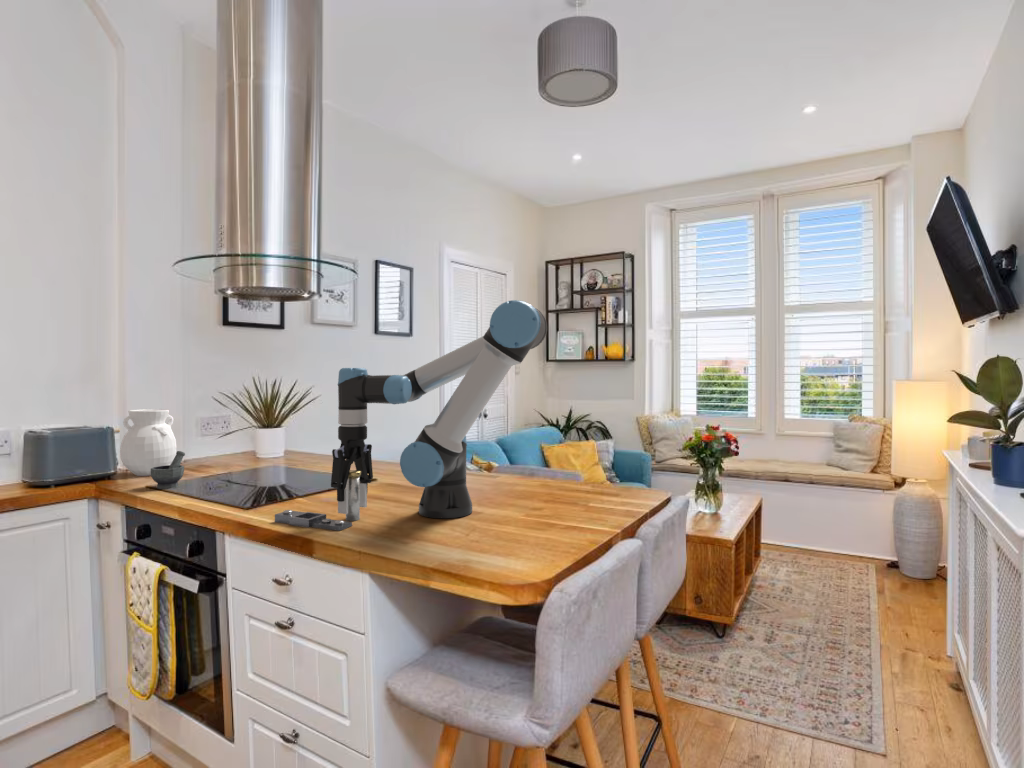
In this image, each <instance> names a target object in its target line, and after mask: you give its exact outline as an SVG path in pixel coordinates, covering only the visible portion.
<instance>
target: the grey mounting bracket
mask: <svg viewBox="0 0 1024 768" xmlns="http://www.w3.org/2000/svg"><path fill="white" fill-rule="evenodd" d="M274 523H281V524H286V525H289V526H295V527H300V528H315V529H322V530H329V531H330V530H331V531H337V532H340V531H342V530H343V531H344V530H346V529H348V528H350V527H352V526H353V521H346V520H343V519H341V520H340V519H331V518H327V514H326V513H319V512H311V511H299V510H298V511H297V510H292V509H287V510H286V509H285V510H283V511H281V512H279V513H275V514H274Z"/></svg>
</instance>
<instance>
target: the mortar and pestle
mask: <svg viewBox="0 0 1024 768" xmlns="http://www.w3.org/2000/svg"><path fill="white" fill-rule="evenodd" d="M184 456H186V453H185V452H184V451H181V450H176V455H175V458H174V459H173V461H172V463H171V465H167V466H158V467H153V468H151V476H150V477H151V478H152V479H153V481H154V482H155V483H156V484H157V485H156V489H158V490H167V489H168V490H169V489H170V490H171V489H175V488H178V487H179V483H178V482H179V481H180V480H181V479H182V478H183V475H184V473H185V466H184V465H181V463H182V461H183V458H184Z"/></svg>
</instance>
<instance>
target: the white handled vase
mask: <svg viewBox="0 0 1024 768" xmlns="http://www.w3.org/2000/svg"><path fill="white" fill-rule="evenodd" d="M169 413H170V409H167V408H145V409H143V408H141V409H130V410H128V416H126V417H125V418H124V419H123V421H122V423H123V426H124V427H125V429H126V430H127V431H126V433H125V435H124V436H123V438H122V441H121V442H120V443H121V444H120V449H119V453H120V460H121V462H122V465H123V466H125V468H126V469H127V470H128V471H130V472H131V473H132V474H134V475H135V476H136V477H151V468H153V467H158V466H167V465H171V463H172V461H173V459H174V458H175V456H176V452H177V439H176V437H175V433H174V432H173V429H172V426H173V424H174V420H175V419H174V416H172V415H171V414H169ZM167 419H168V422H167V423H166V420H167ZM129 420H130V421H132V423H133V425H132V426H131V425H130V424H129Z"/></svg>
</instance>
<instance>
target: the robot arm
mask: <svg viewBox="0 0 1024 768" xmlns="http://www.w3.org/2000/svg"><path fill="white" fill-rule="evenodd" d="M547 332H548V322H547V320H546V317H545V315H544V314H543V312H541V310H539V309H537V308H536V307H534V306H533V305H532V304H530V303H529V302H527V301H524V300H517V299H516V300H515V299H513V300H508V301H505V302H503V303H501V304H499V305H498V306H497V307H496V308H495V309H494V311H493V312H492V314H491V316H490V320H489V327H488V328H487V330H486V332H485V333H484V335H483V336H481V337H478V338H476V339H474V340H472V341H470V342H468V343H466V344H464V345H462V346H459V347H458V348H456V349H454V350H452V351H450V352H448V353H446V354H444V355H442V356H440V357H438V358H435V359H434V360H432V361H429V362H427V363H425V364H423V365H422V366H420V367H417V368H415V369H413V370H412V371H409V372H408V373H405V374H403V375H401V374H400V375H399V374H390V375H389V374H387V375H385V374H384V375H383V374H381V375H380V374H379V375H372V374H369V373H368V369H366V368H365V367H342V368H340V369H339V371H338V379H337V380H338V381H337V386H338V387H337V388H338V389H337V393H338V395H337V397H338V400H337V401H338V406H337V407H338V415H337V416H338V424H339V426H338V427H337V438H338V440H339V441H340V446H339V448H337V449H334V448H333V449H332V451H331V454H332V466H331V479H330V481H331V482H330V487H331V488H333V489H336V501H337V513H338V514H341V515H342V514H343V515H346V514H348V489H346V484H347V480H348V476H349V472H350V470H351V468H352V465H353V464H354V466H355V470H360V471H361V475H360V508H367V507H368V488H369V487H368V484H371V483H372V480H373V478H374V474H373V460H372V449H373V446H372V444H368V443H365V440H367V439H368V426H367V423H368V404H389V405H399V404H400V405H402V404H406V403H409V402H410V403H411V402H414V401H417V400H419V399H420V398H421V397H423V396H424V395H425V394H428V393H429V392H431V391H434V390H436V389H438V388H440V387H442V386H444V385H447V384H449V383H450V382H453V381H454V380H457V379H459V378H462V380H461V381H460V383H459V384H458V386H457V387H456V389H455V390H454V391H453V393H452V395H451V396H450V398H449V400H447V403H446V404H445V406H443V409H442V410H441V412H440V413H439V414H438V416H437V417H436V419H435V421H434V422H433V423H431V424H427V425H424V427H423V428H422V430H421V431H420V433H419V434H418V436H417V437H416V439H415V440H414V441H413V442H411V443H409V444H407V446H406V447H405V448H404V449H403V450H402V452H401V453H400V458H399V467H400V470H401V473H402V475H403V477H404V478H405V479H406V481H408V482H409V483H410V484H412V485H414V486H415V487H418V488H423V491H422V495H421V498H420V499H419V502H418V503H419V504H418V514H419V515H420V516H422V517H425V518H432V519H455V518H457V519H458V518H462V517H466V516H468V515H471V514H472V513H473V502H472V499H471V496H470V492H469V489H468V487H467V447H468V442H467V434H468V432H469V431H470V430H471V428H472V426H473V425H474V424H475V422H476V421H477V418H478V417H479V415H480V414H481V413H482V411H483V410H484V408H485V407H486V405H487V404H488V403H489V401H490V399H491V398H492V396H493V395H494V393H495V392H496V390H497V389H498V388H499V386H500V385H501V383H502V381H503V380H504V378H505V377H506V376H507V374H508V372H509V371H510V369H511V368H512V367H513V366H515V365H520V364H521V363H523V361H524V359H525V358H526V356H527V355H528V354H529V352H530V350H532V349H535V348H536V347H538V346H539V345H541V344H542V343H543V341H544V340H545V338H546V336H547ZM463 376H464V377H463Z"/></svg>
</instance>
